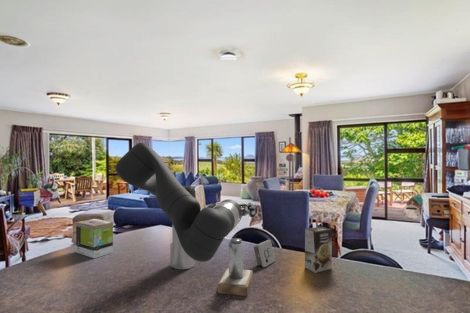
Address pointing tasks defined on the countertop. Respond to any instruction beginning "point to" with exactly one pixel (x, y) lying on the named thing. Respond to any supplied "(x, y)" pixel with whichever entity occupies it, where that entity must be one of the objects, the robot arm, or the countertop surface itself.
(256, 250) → the electrical switch
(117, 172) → the robot arm
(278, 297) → the countertop surface
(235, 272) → the cylinder
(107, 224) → the tea box
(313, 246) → the coffee box
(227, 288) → the plinth
